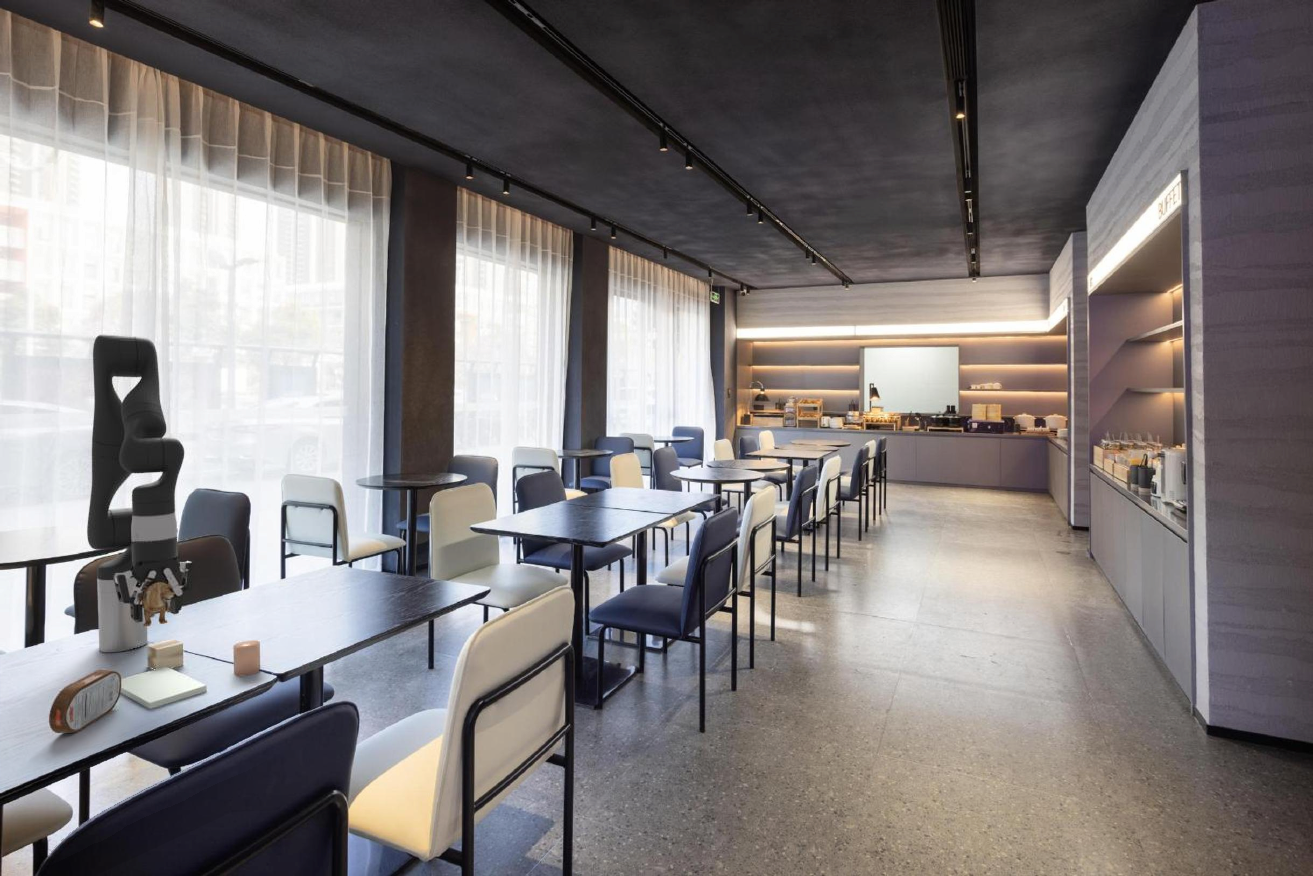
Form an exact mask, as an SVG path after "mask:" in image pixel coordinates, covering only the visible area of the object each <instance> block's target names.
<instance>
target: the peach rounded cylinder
mask: <svg viewBox="0 0 1313 876" xmlns="http://www.w3.org/2000/svg"><path fill="white" fill-rule="evenodd" d="M232 649H233V653H232V654H233V675H234V674H235V675H234V676H237V675H245V676H249V674H250V675H254V674H257V673H259V672H260V671H261V643H260V641H259V640H244V641H241V642H238V643H234V645H233V647H232ZM259 670H260V671H259ZM253 673H254V674H253Z"/></svg>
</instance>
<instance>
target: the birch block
mask: <svg viewBox="0 0 1313 876" xmlns="http://www.w3.org/2000/svg"><path fill="white" fill-rule="evenodd" d="M146 647H147V650H146V653H147V667H148V666H149V667H151V668H153V669H159V668H162V667H168V668H171V669H173V668H172V667H174V668H177V667H180V665H181V666H184V643H183V642H181V641H178V640H176V639H174V638H171V639H168V640H163V641H159V642H155V643H151V644H148V645H147V646H146ZM176 666H177V667H176ZM149 667H148V668H149ZM151 668H150V669H151ZM153 669H152V670H153Z"/></svg>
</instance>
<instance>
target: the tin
mask: <svg viewBox="0 0 1313 876" xmlns="http://www.w3.org/2000/svg"><path fill="white" fill-rule="evenodd" d="M121 679H122V675H121V674H120V673H119V672H118V671H116V670H113V669H112V670H111V669H109V670H108V669H102V668H101V669H96V670H95V671H93V672H91V673H89V674H87V675H86V676H83V677H82V678H79V679H78V680H76V681H74V682H72V683H70V684H68V685H66V686H65V687H64V688H62V689H61V691H59V693H58V694H57V695H56V697H55V698H54V700H53V702H52V704H51V707H50V710H49V713H48V714H49V715H48V717H49V718H48V723H49V727H50V729H51V731H52V732H53V733H56V734H74V733H77V732H79V731H82V730H83V729H84V728H86V727H88V726H89V725H91V724H93V723H94V722H96V721H98V720H99V719H101V718H102V717H104V716H106V715H108V714H109V713H111V711H112V710H113V709H114V708H115V706H116V705H117V703H118V702H119V699H120V697H121V694H122V693H121Z"/></svg>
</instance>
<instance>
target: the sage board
mask: <svg viewBox="0 0 1313 876" xmlns="http://www.w3.org/2000/svg"><path fill="white" fill-rule="evenodd" d="M207 686H208V685H207V684H205V683H202V682H200V681H199V680H197V679H194V678H191V677H190V676H187V675H186V674H183V673H181V672H179V671H177V670H175V669H174V668H168V667H162V668H159V669H155V670H153V669H151V670H148V671H145V672H141V673H138V674H137V673H136V674H133V675H130V676H126V677H123V678H121V694H123V695H124V696H126V697H128V698H129V699H131V700H133V701H135V702H137V703H139V704H141V705H142V706H144V707H146V708H148V709H149V710H151V709H154V708H157V707H161V706H164V705H167V704H171V703H173V702H176V701H179V700H182V699H187V698H189V697H193V696H196V695H199V694H202V693H204V692H207Z"/></svg>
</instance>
